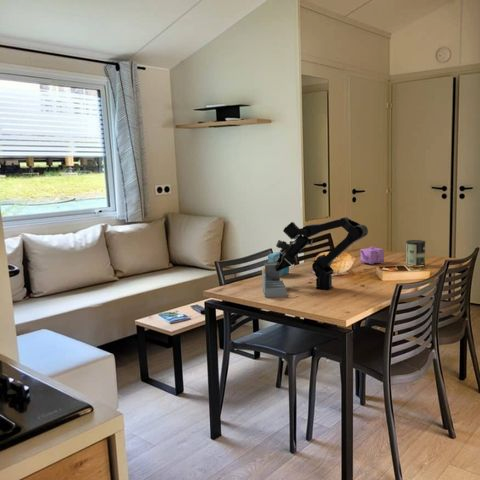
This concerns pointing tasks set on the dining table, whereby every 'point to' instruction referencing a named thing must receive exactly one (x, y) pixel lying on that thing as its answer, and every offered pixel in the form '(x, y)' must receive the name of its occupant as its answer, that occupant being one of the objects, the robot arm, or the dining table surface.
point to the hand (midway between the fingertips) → (275, 268)
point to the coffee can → (415, 252)
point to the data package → (274, 258)
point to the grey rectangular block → (272, 271)
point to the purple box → (372, 255)
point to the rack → (273, 287)
